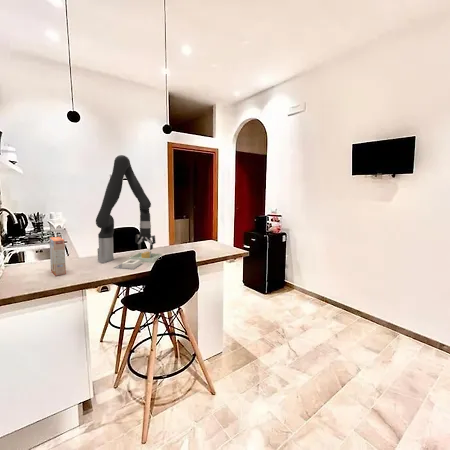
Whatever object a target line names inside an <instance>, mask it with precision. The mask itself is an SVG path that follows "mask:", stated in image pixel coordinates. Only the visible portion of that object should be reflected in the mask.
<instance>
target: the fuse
mask: <svg viewBox="0 0 450 450" xmlns="http://www.w3.org/2000/svg"><path fill="white" fill-rule="evenodd" d="M141 253H142V254H141V256H142V258H150V257H151V253H152V250H148V251H144V252H141Z"/></svg>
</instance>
